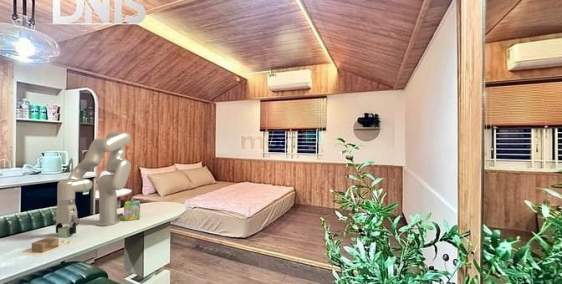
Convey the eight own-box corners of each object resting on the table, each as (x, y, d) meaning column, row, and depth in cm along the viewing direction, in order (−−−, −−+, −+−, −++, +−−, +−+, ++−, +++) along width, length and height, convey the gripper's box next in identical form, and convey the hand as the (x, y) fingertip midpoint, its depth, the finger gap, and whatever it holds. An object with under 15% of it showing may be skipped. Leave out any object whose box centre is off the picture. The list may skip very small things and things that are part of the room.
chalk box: (125, 217, 176) (125, 196, 175) (140, 215, 180) (140, 195, 179) (123, 221, 167) (123, 199, 167) (139, 219, 171) (139, 198, 171)
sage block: (68, 234, 145) (68, 225, 145) (76, 235, 144) (75, 226, 144) (58, 238, 140) (58, 228, 140) (65, 239, 138) (65, 229, 138)
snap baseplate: (58, 240, 137) (58, 237, 137) (79, 243, 133) (79, 240, 133) (17, 255, 119) (17, 252, 119) (39, 259, 116) (39, 255, 116)
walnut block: (48, 245, 129) (48, 237, 128) (58, 246, 127) (58, 238, 127) (31, 251, 122) (31, 243, 122) (42, 252, 120) (42, 244, 120)
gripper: (85, 202, 143) (84, 232, 143) (61, 200, 147) (61, 229, 147) (71, 205, 136) (70, 237, 135) (47, 203, 140) (46, 234, 139)
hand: (65, 233), depth 141 cm, fingers open, 9 cm apart
